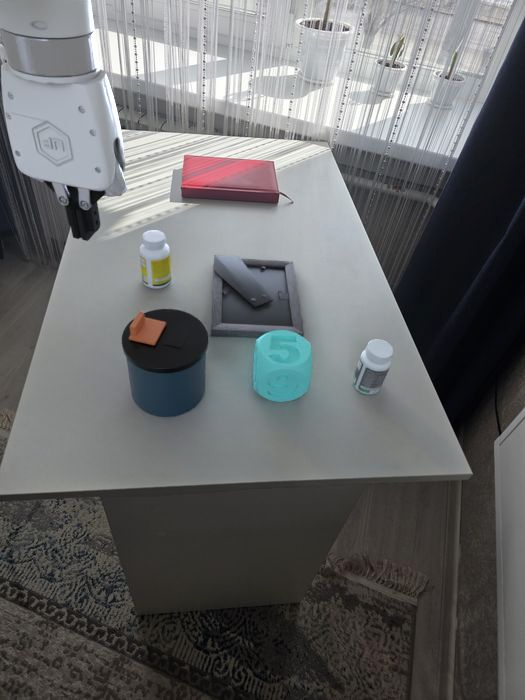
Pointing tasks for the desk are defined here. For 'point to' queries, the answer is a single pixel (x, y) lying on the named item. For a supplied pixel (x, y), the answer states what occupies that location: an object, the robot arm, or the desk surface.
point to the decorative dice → (282, 366)
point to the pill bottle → (373, 366)
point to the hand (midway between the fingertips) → (86, 233)
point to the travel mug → (168, 364)
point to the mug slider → (146, 329)
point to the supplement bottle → (155, 260)
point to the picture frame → (254, 297)
